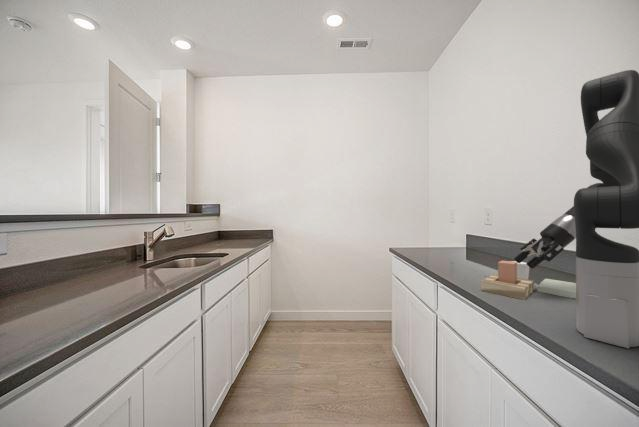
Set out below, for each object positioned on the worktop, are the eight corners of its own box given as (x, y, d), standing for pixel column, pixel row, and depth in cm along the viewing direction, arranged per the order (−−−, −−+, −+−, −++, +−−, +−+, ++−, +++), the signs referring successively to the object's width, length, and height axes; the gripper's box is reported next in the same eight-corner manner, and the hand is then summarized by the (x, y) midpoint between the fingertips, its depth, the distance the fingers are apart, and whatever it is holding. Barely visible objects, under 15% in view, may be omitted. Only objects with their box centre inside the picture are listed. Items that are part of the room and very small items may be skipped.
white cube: (534, 281, 96) (534, 264, 96) (516, 282, 96) (516, 264, 96) (520, 277, 103) (520, 260, 103) (504, 277, 103) (503, 260, 103)
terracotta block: (513, 293, 83) (513, 264, 83) (498, 290, 86) (498, 262, 86) (517, 290, 86) (517, 262, 86) (502, 287, 89) (501, 260, 89)
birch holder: (524, 299, 77) (524, 288, 77) (481, 290, 86) (481, 280, 86) (534, 290, 86) (534, 280, 86) (494, 283, 95) (493, 274, 95)
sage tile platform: (599, 302, 74) (599, 296, 74) (537, 291, 85) (537, 285, 85) (601, 292, 83) (601, 286, 83) (545, 283, 93) (545, 278, 93)
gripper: (540, 222, 89) (504, 252, 93) (567, 224, 76) (523, 259, 79) (558, 236, 88) (520, 267, 91) (589, 241, 74) (544, 277, 77)
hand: (522, 263), depth 85 cm, fingers open, 8 cm apart
